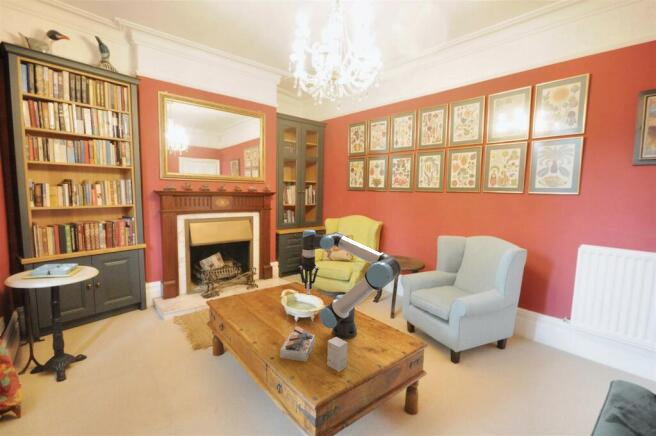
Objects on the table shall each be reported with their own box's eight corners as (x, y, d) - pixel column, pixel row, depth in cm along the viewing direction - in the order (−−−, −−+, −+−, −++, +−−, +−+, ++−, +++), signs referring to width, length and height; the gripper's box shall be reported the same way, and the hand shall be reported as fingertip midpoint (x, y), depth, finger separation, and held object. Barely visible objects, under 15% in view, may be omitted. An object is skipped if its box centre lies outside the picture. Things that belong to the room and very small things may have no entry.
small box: (347, 366, 146) (348, 342, 144) (339, 372, 141) (339, 347, 140) (335, 359, 151) (335, 336, 150) (326, 365, 147) (327, 340, 145)
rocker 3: (304, 341, 154) (302, 337, 154) (302, 345, 150) (300, 341, 150) (289, 346, 156) (287, 342, 156) (286, 350, 152) (285, 346, 152)
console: (314, 343, 167) (314, 334, 166) (306, 361, 149) (306, 351, 149) (291, 340, 170) (291, 331, 169) (280, 358, 152) (280, 348, 151)
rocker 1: (309, 336, 166) (310, 333, 166) (307, 340, 162) (308, 336, 162) (295, 328, 167) (296, 325, 167) (293, 332, 163) (294, 329, 163)
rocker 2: (307, 337, 160) (306, 333, 160) (305, 341, 156) (304, 337, 156) (292, 339, 162) (291, 335, 162) (289, 342, 158) (288, 338, 158)
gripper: (320, 255, 176) (320, 292, 179) (300, 253, 178) (299, 290, 181) (318, 258, 169) (317, 297, 171) (296, 256, 171) (296, 295, 174)
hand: (308, 294), depth 176 cm, fingers closed
